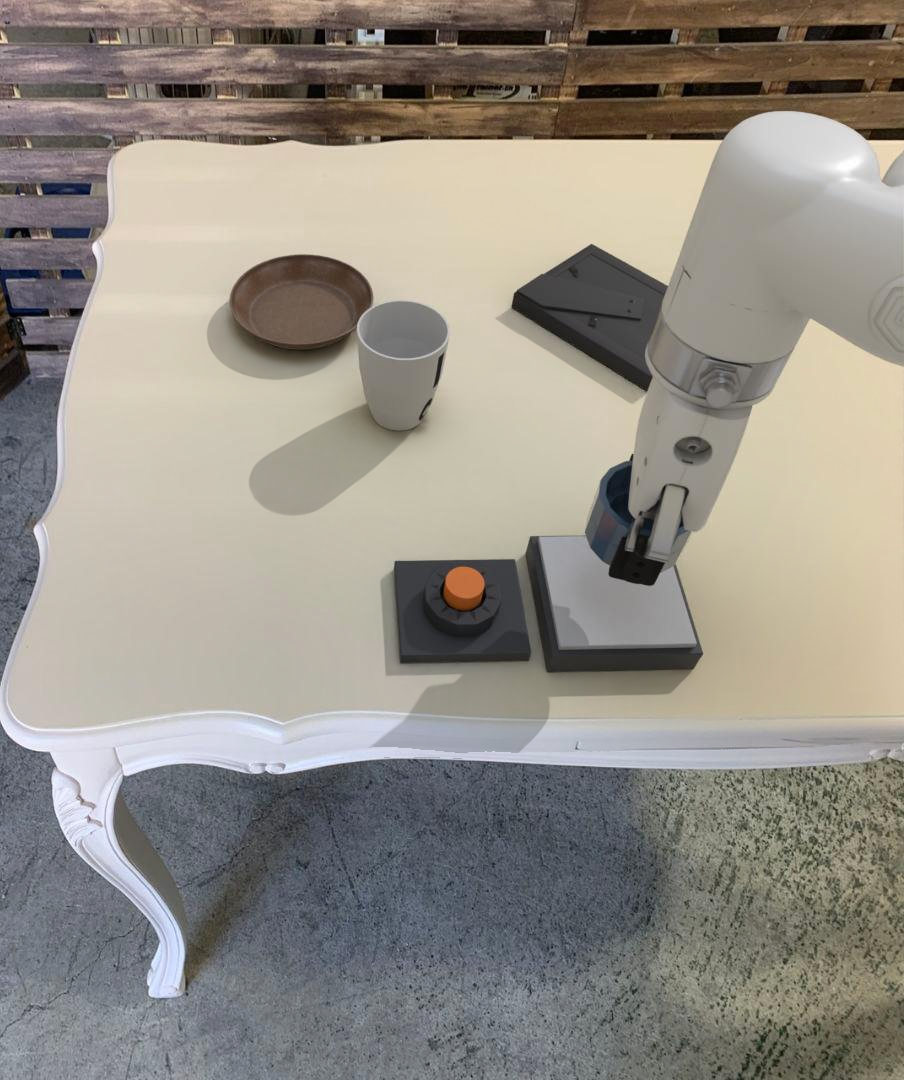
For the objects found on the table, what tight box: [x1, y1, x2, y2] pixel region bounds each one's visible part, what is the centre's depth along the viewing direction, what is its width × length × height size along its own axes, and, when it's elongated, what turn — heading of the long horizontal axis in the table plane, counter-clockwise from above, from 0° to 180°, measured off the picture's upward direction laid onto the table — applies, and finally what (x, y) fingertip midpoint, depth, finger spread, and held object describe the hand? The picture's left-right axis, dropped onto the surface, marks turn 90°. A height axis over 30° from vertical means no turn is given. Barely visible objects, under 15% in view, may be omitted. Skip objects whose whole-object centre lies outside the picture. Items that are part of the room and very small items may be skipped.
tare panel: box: [393, 558, 532, 664], centre depth 71 cm, size 10×9×3 cm
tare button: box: [443, 567, 485, 611], centre depth 69 cm, size 3×3×2 cm
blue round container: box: [584, 460, 694, 573], centre depth 64 cm, size 7×7×5 cm
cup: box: [356, 299, 451, 432], centre depth 82 cm, size 8×8×10 cm
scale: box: [524, 534, 704, 673], centre depth 72 cm, size 12×12×3 cm
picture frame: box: [510, 243, 668, 392], centre depth 94 cm, size 13×2×18 cm
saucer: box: [229, 253, 374, 350], centre depth 93 cm, size 15×15×3 cm
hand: (635, 535), depth 65 cm, fingers closed on blue round container, 7 cm apart
